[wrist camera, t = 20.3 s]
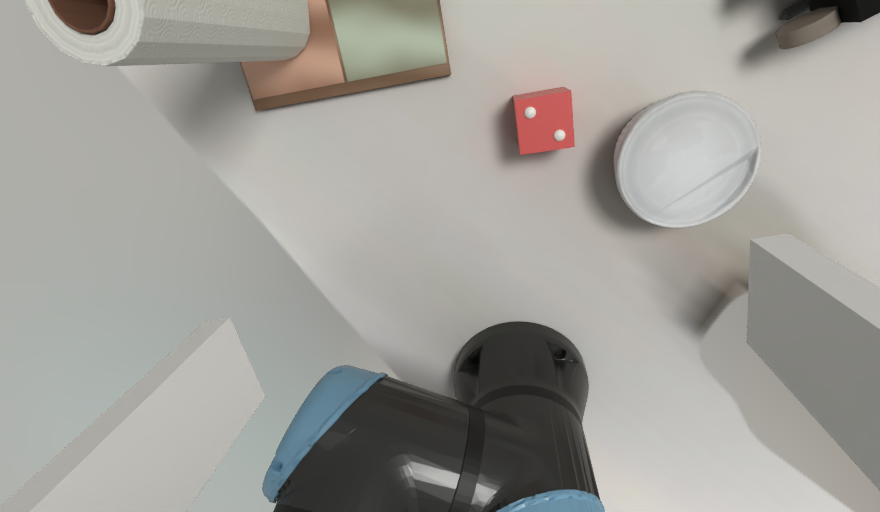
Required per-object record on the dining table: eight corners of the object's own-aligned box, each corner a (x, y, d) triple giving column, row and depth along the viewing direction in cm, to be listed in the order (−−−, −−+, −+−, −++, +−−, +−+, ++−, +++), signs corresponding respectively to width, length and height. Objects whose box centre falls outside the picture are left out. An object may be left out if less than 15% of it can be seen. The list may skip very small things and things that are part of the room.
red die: (566, 137, 42) (574, 147, 38) (518, 145, 43) (520, 155, 39) (563, 86, 41) (571, 90, 36) (512, 95, 41) (514, 100, 37)
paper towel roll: (272, 72, 42) (79, 89, 23) (232, 7, 40) (-15, -36, 21) (335, 32, 40) (184, 11, 21) (297, -40, 38) (91, -135, 19)
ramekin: (690, 225, 44) (714, 246, 40) (583, 188, 44) (593, 205, 39) (758, 111, 40) (794, 119, 35) (638, 70, 40) (658, 72, 35)
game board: (451, 74, 41) (450, 74, 40) (259, 110, 44) (255, 111, 44) (421, -115, 36) (419, -119, 35) (206, -58, 39) (200, -61, 38)
